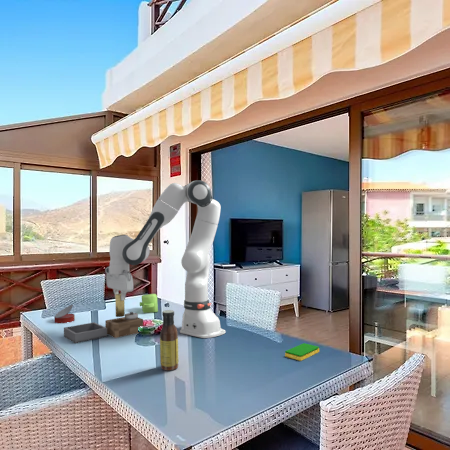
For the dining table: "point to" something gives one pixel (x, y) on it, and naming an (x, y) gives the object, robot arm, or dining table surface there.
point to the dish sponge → (302, 351)
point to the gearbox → (149, 303)
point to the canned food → (64, 315)
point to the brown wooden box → (123, 325)
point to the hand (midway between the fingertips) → (119, 299)
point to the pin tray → (85, 332)
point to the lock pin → (119, 306)
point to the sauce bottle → (168, 342)
